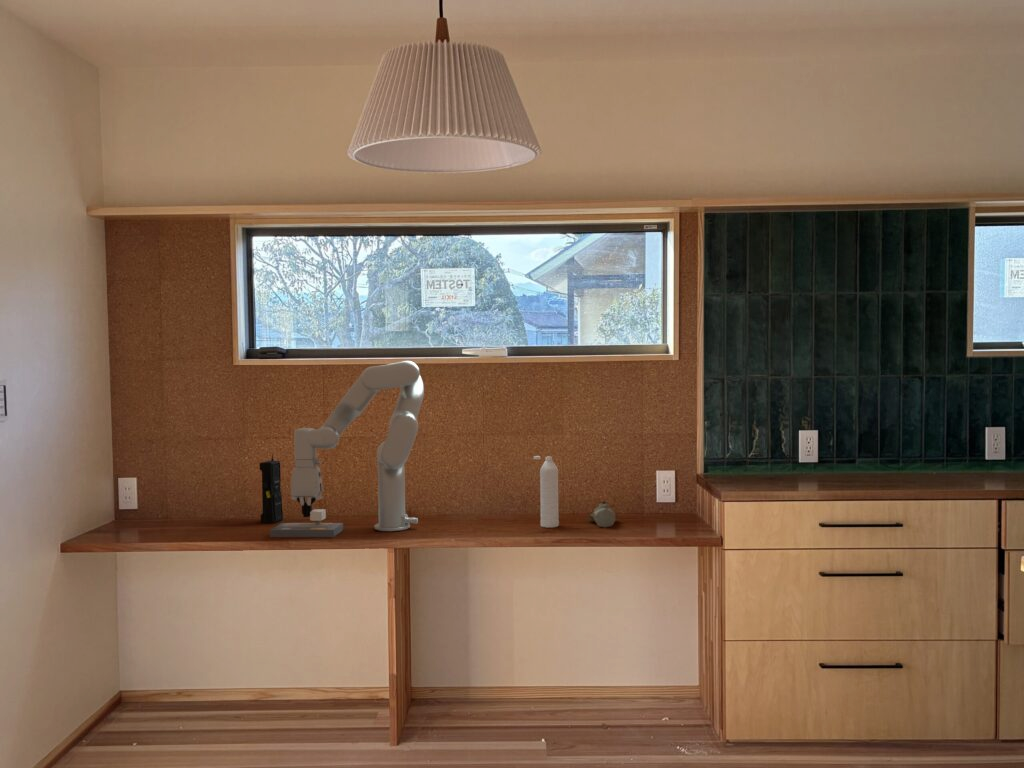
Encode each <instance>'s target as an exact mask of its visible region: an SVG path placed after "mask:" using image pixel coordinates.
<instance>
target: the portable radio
mask: <svg viewBox="0 0 1024 768" xmlns="http://www.w3.org/2000/svg"><path fill="white" fill-rule="evenodd" d="M259 470H260V471H261V489H262V490H261V491H262V492H261V495H262V497H261V498H262V499H261V500H262V512H261V514H260V523H262V524H276V523H278V522H281V521H283V519H284V515H283V514H284V513H283V512H284V511H283V499H282V498H283V496H282V491H281V490H282V487H281V481H282V479H281V478H282V477H281V462H280V460H274V455H273V453H272V454H271V460H267V461H263V462H259Z"/></svg>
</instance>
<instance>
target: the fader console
mask: <svg viewBox="0 0 1024 768" xmlns="http://www.w3.org/2000/svg"><path fill="white" fill-rule="evenodd" d="M343 530H344V523H343V522H320V525H316V522H281V523H279V524H278V525H276V526H274V527H272V528H271V529H270V530H269V538H335V537H336V536H338V534H340V533H341V532H343Z"/></svg>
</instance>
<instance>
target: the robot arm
mask: <svg viewBox="0 0 1024 768" xmlns="http://www.w3.org/2000/svg"><path fill="white" fill-rule="evenodd" d="M395 388H399V389H400V390H399V396H398V397H397V402H396V405H395V407H394V410H393V412H392V414H391V417H390V419H389V422H388V427H389V429H388V432H387V435H386V438H385V440H384V441H382V442H381V443H380V444H379V446H378V448H377V451H376V462H377V481H378V482H377V489H378V490H377V494H378V497H377V499H378V500H377V501H378V523H376V524H374V527H373V528H374V530H376V531H380V532H397V531H398V532H399V531H405V530H408V529H409V528H410V527H411V524H418V522H419V519H418V517H414V516H413V517H409V516H408V513H406V474H405V473H406V471H405V464H406V463H407V461H408V459H409V456H410V455H411V450H413V449H412V448H413V445H414V442H415V440H416V438H417V434H418V431H419V421H418V419H417V418H418V416H419V414H420V410H421V407H422V403H423V401H424V396H425V385H424V381H423V378H422V376H421V372H420V368H419V366H418V365H417V364H416V363H415V362H414V361H411V360H402V361H399V362H398V361H397V362H394V363H388V364H382V365H375V366H374V365H372V366H368V367H366V368H365V369H364V370H363V371H362V372H361V373H360V375H359V376H358V378H357V379H356V380H355V382H354V383H353V384H352V386H350V388H349V389H348V390H347V392H346V393H345V395H343V397H342V398H341V399H340V401H339V402H338V404H337V405H336V407H335V408H334V409H333V410H332V411H331V413H330V414H329V416H328V417H327V418H326V420H325V421H324V422H323V424H322V425H321V426H320V428H317V429H316V428H313V427H299V428H296V429H295V430H294V433H293V443H294V444H293V445H294V446H293V447H294V448H293V449H294V450H293V451H294V454H293V455H294V467H293V468H292V473H291V478H290V494H291V497H290V499H291V500H293V501H297V502H298V503H299V504H300V506H301V515H303V516H302V517H303V518H310V512H311V511H312V510H313V507H312V505H313V504H314V503H315V502H316V501H319V500H322V499H323V495H322V494H323V491H324V490H323V488H324V487H323V479H322V473H321V472H322V471H321V468H320V466H319V465H321V464H322V460H320V459H318V456H317V455H318V453H317V451H318V450H317V449H320V450H321V449H322V450H328V449H329V450H331V449H334V448H335V447H336V446H337V445H339V441H340V437H341V435H342V434H343V433H344V432H345V431H346V429H347V428H348V427H349V425H350V424H351V423H352V422H353V421H354V420H356V418H358V417H360V415H361V414H362V413H363V412H364V411H365V409H366V408H367V407H368V406H369V404H370V403H371V402H372V400H373V399H374V398H375V396H376V395H377V394H378V392H379V391H382V390H389V389H395ZM306 498H307V499H306Z"/></svg>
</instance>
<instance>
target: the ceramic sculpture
mask: <svg viewBox="0 0 1024 768" xmlns="http://www.w3.org/2000/svg"><path fill="white" fill-rule="evenodd" d="M614 512H615V511H614V510H613V509H612V507H611V506H610V504H608V503H607V502H606V501H601V503H599V504H598V505H596V506H595V508H594V510H593V513H592V514H591V513H589V514H587V519H588V520H589V521H591V522H595V523H596V524H597V526H598V527H601V528H610V527H612V526H613V525H614V524H615V522H616V519H617V516H618V515H617V513H614Z"/></svg>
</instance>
